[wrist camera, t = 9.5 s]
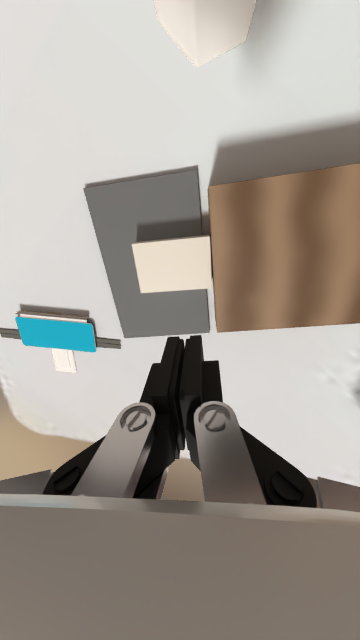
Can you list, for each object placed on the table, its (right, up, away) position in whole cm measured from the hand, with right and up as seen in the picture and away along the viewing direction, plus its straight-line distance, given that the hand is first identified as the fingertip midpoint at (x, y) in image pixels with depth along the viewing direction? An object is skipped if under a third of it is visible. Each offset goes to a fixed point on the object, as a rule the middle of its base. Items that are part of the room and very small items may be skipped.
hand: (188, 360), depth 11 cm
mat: (-4, +9, +18) cm, 20 cm away
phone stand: (-20, -1, +25) cm, 32 cm away
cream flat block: (-1, +9, +17) cm, 19 cm away
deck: (+14, +10, +15) cm, 23 cm away
